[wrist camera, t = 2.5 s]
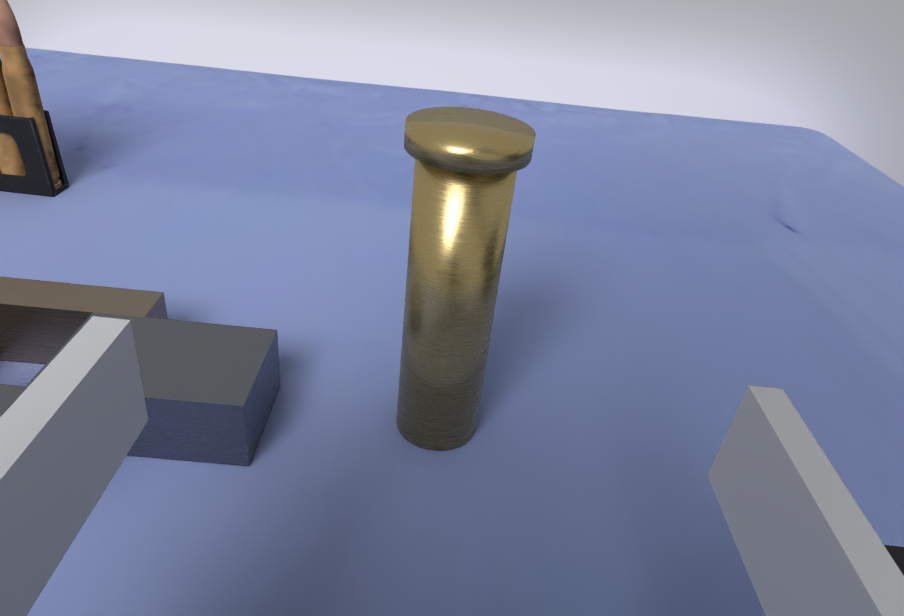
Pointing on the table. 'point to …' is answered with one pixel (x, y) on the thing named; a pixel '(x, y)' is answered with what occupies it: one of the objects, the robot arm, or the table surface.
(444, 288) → the link pin
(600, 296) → the table surface
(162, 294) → the chain joint
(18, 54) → the ammunition clip
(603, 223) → the table surface
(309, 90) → the table surface
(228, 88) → the table surface
